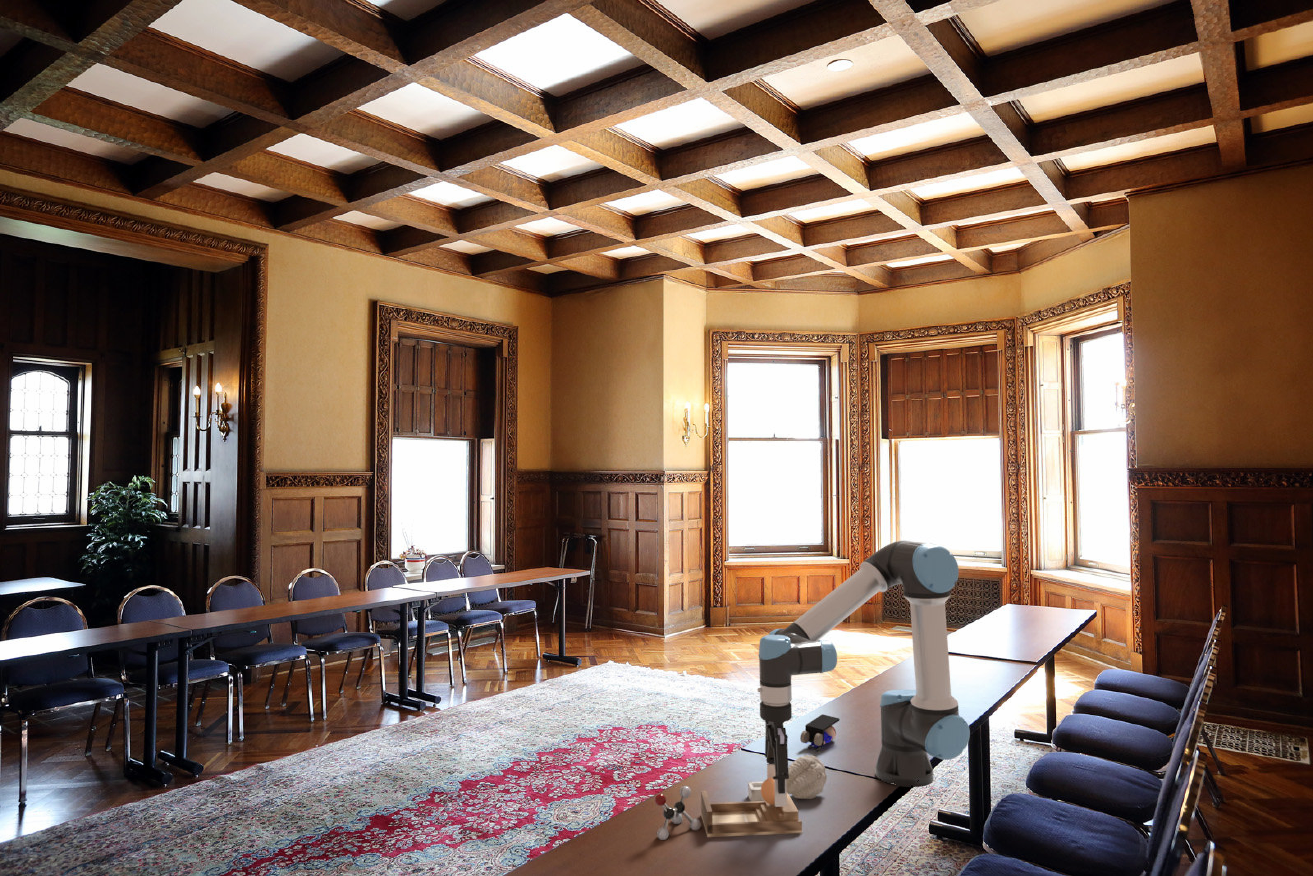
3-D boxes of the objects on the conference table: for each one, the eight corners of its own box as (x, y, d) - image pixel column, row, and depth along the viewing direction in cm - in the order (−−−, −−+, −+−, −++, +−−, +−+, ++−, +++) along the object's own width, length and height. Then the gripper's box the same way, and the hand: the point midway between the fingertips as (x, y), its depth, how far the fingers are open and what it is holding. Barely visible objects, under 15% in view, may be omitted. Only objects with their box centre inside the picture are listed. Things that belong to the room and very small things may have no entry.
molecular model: (703, 830, 188) (702, 784, 188) (671, 849, 179) (670, 800, 179) (676, 820, 193) (675, 775, 193) (643, 838, 184) (643, 791, 184)
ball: (785, 795, 193) (779, 770, 194) (791, 805, 187) (785, 780, 188) (761, 801, 193) (756, 777, 193) (766, 812, 187) (760, 787, 187)
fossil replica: (793, 807, 200) (792, 767, 200) (776, 795, 207) (775, 756, 208) (834, 800, 204) (833, 760, 204) (815, 788, 212) (815, 749, 212)
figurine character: (820, 759, 237) (841, 739, 248) (818, 734, 236) (840, 715, 248) (800, 754, 241) (822, 735, 253) (798, 729, 240) (820, 711, 252)
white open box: (767, 796, 207) (767, 781, 207) (771, 804, 202) (771, 789, 202) (748, 797, 206) (748, 782, 206) (751, 805, 201) (751, 790, 201)
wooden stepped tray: (790, 813, 196) (789, 787, 197) (802, 835, 184) (801, 808, 185) (701, 816, 195) (700, 790, 195) (707, 839, 183) (707, 811, 183)
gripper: (752, 690, 201) (753, 782, 200) (768, 715, 181) (770, 818, 180) (781, 689, 202) (782, 781, 201) (801, 714, 181) (803, 816, 180)
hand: (776, 798), depth 190 cm, fingers open, 8 cm apart
